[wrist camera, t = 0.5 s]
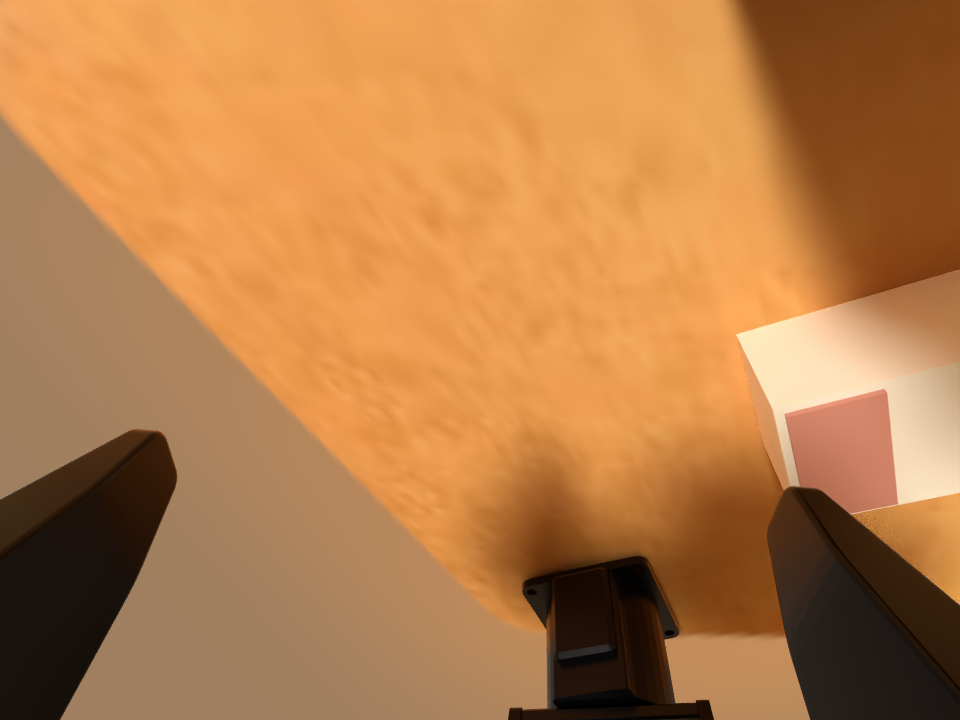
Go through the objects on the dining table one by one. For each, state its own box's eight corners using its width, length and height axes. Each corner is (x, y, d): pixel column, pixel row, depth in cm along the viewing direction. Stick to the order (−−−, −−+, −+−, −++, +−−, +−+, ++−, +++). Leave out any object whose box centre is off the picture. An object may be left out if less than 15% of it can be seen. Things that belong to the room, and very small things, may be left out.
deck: (1002, 380, 23) (1095, 471, 19) (761, 438, 25) (800, 529, 22) (1005, 252, 20) (1115, 327, 16) (734, 331, 23) (774, 413, 19)
